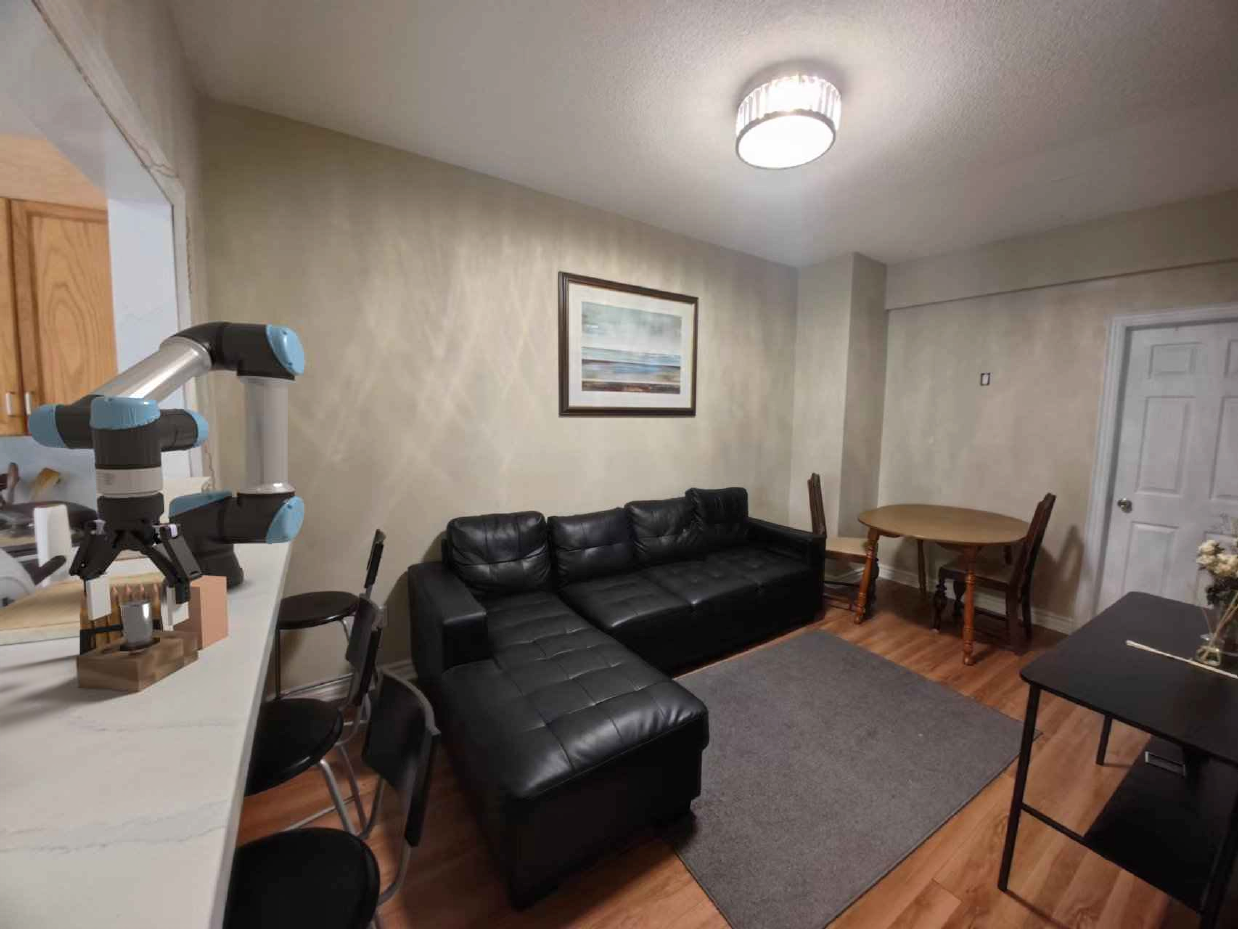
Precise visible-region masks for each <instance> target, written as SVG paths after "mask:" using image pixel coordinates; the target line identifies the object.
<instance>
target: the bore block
mask: <svg viewBox="0 0 1238 929" xmlns="http://www.w3.org/2000/svg"><path fill="white" fill-rule="evenodd" d="M153 637H154V645H153V646H151V647H149V648H145V649H140V650H136V651H131V652H129V651H125V644H124V637H122V638H120V639H118V640H115V641H113V642H111V643H108V644H106V645H104V646H101V647H99V648H97V649H94V650H92V651H90V652H87V653H85V654H83V655H80V654H79V655H78V656H76V657H75V661H76V663H75V664H76V676H77V688H82V689H95V690H109V691H110V690H111V691H122V692H123V691H125V692H134V693H135V692H137V693H140V692H142V691H143V690H145V689H146V688H148V687H150V686H153V685H155V684H156V683H158V682H159V681H161V680H163V679H165V678H167V677H168V676H170V675H172V674H174V673H175V672H177V671H180V670H181V669H183V668H185V667H187V666H188V665H191V664H193V663H194V662H196V661H197V660H199V651H198V650H199V649H198V645H197V632H184V631H173V630H167V629H166V630H165V629H164V630H154V629H153Z"/></svg>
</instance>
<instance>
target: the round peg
mask: <svg viewBox="0 0 1238 929" xmlns="http://www.w3.org/2000/svg"><path fill="white" fill-rule="evenodd" d="M132 601H133V602H129V603H126V604H124V605H123V606H122V605H121V610H122V611H123V627H124V644H125V651H129V652H131V651H136V650H140V649H145V648H149V647H151V646H153V645H154V637H153V618H152V601H151V600H149V599H146V600H138V601H136V600H132ZM122 611H121V612H122Z"/></svg>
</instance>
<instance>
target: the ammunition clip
mask: <svg viewBox="0 0 1238 929" xmlns="http://www.w3.org/2000/svg"><path fill="white" fill-rule="evenodd" d="M84 592H85V591H84V590H83V591H82V592H81V596H80V610H79V627H80V629H79V656H80V655H83V654H85V653H87V652H90V651H92V650H94V649H97V648H99V647H101V646H104V645H106V644H108V643H111V642H113V641H115V640H118V639H120V638H122V637H124V627H123V611H122V606H123V605H124V604H126V603H129V602H133V601H134V600H133V596H132V591H131V588H130V586H128V585H127V584H126V585H124V588H123V591H122V597H121V598H122V603H121V604H122V605H121V606H120V601H119V600H120V599H119V595H118V591H117V589H116V588H115V586H111V587H110V602H111V613H110V614H108V615H105V616H102V617H100V618H97V619H94V620H89V619H88V606H87V598H86V597H85V595H84ZM135 594H136V595H135V598H136V599H135V601H138V600H147V598H146V591H145V589H144V586H143V584H142V583H139V584H138V586H137V588H136V593H135ZM148 600H151V601H152V618H153V629H154V630H165V629H164V622H163V616H162V607H161V606H162V605H161V601H160V595H159V589H158V586H157V584H156V583H155V582H154V581H153V582H152V583H151V585H150V589H149V599H148Z"/></svg>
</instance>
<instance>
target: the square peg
mask: <svg viewBox="0 0 1238 929" xmlns="http://www.w3.org/2000/svg"><path fill="white" fill-rule="evenodd" d="M227 590H228V589H227V587H226V577H221V576H205V575H203V576H202V577H201V578H199V579H196V580H194V581H191V582H190V596H191V598H190V601H188V615H189V618H188V619H186V620H184V621H182V622H179V623H177V624H175V625H172V631H184V632H197V645H198V650H205V649H206V648H208V647H211V646H212V645H214V644H216V643H218V642H220V641H222V640H223V639H225V638H226V637H228V636H229V620H228V619H229V618H228V617H229V615H228V614H229V612H228V592H227ZM217 641H218V642H217Z"/></svg>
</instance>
